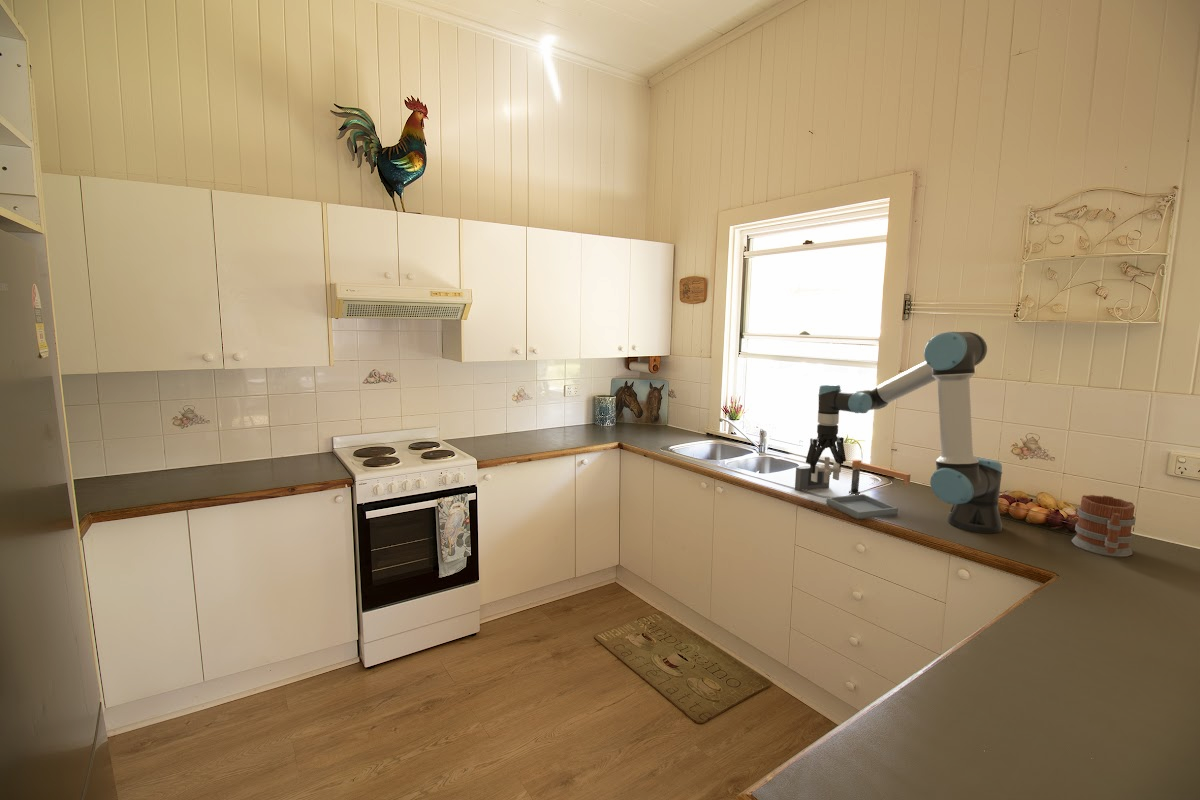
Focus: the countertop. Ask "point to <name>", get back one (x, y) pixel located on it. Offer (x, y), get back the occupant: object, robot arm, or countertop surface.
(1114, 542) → the mug
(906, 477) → the tan bar handle
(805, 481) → the socket block
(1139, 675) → the countertop surface
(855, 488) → the post
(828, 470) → the pipe connector
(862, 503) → the tray
